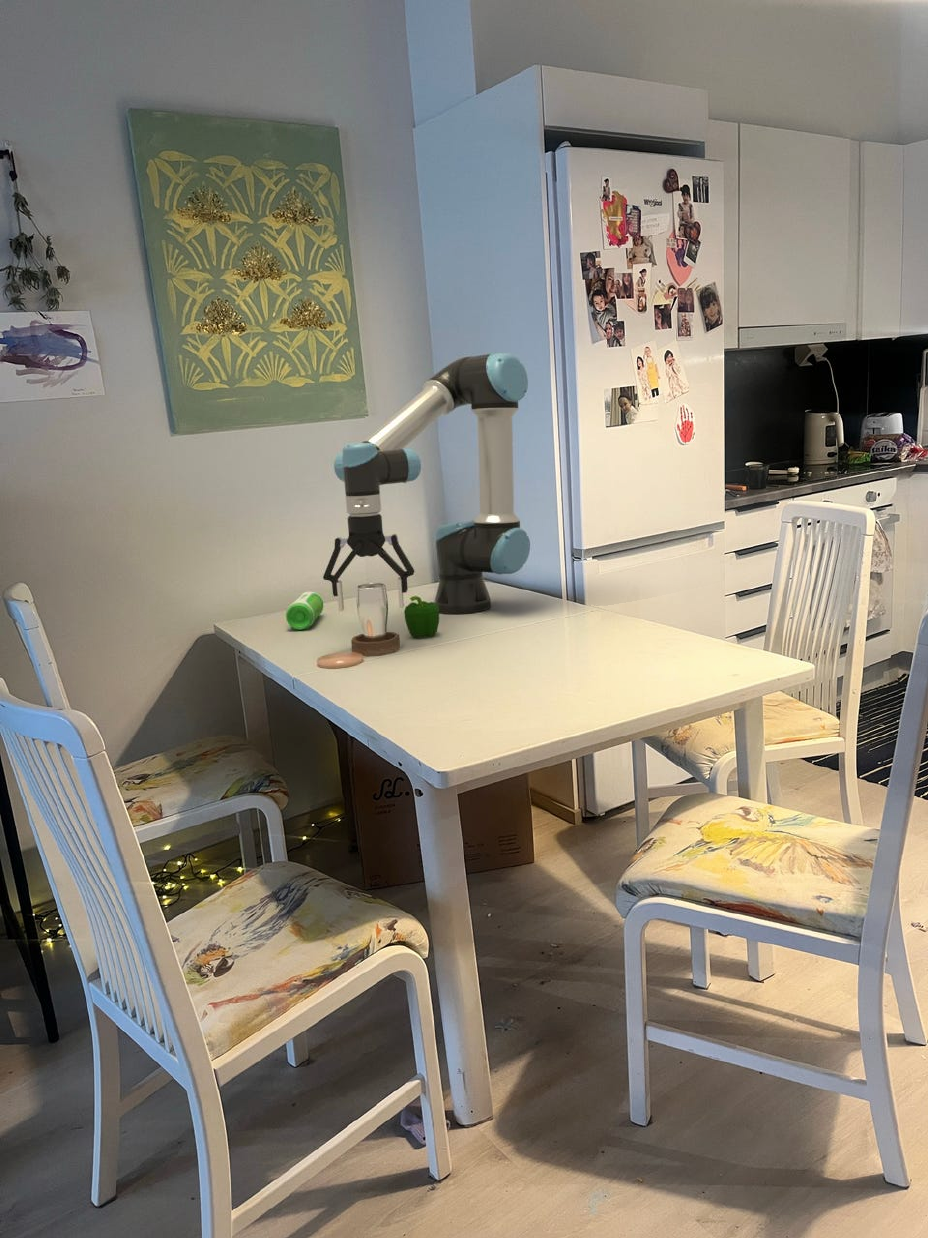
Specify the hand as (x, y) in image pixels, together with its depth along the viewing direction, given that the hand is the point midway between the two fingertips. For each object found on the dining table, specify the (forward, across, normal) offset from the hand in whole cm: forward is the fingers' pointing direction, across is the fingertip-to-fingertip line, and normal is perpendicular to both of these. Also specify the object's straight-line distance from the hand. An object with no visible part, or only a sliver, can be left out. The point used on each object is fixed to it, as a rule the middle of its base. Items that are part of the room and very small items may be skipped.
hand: (371, 608), depth 215 cm
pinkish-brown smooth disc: (+10, -7, -9) cm, 15 cm away
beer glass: (+10, 0, 0) cm, 10 cm away
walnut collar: (+10, 0, 0) cm, 10 cm away
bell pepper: (+10, +10, +11) cm, 18 cm away
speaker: (+10, -22, +33) cm, 41 cm away
